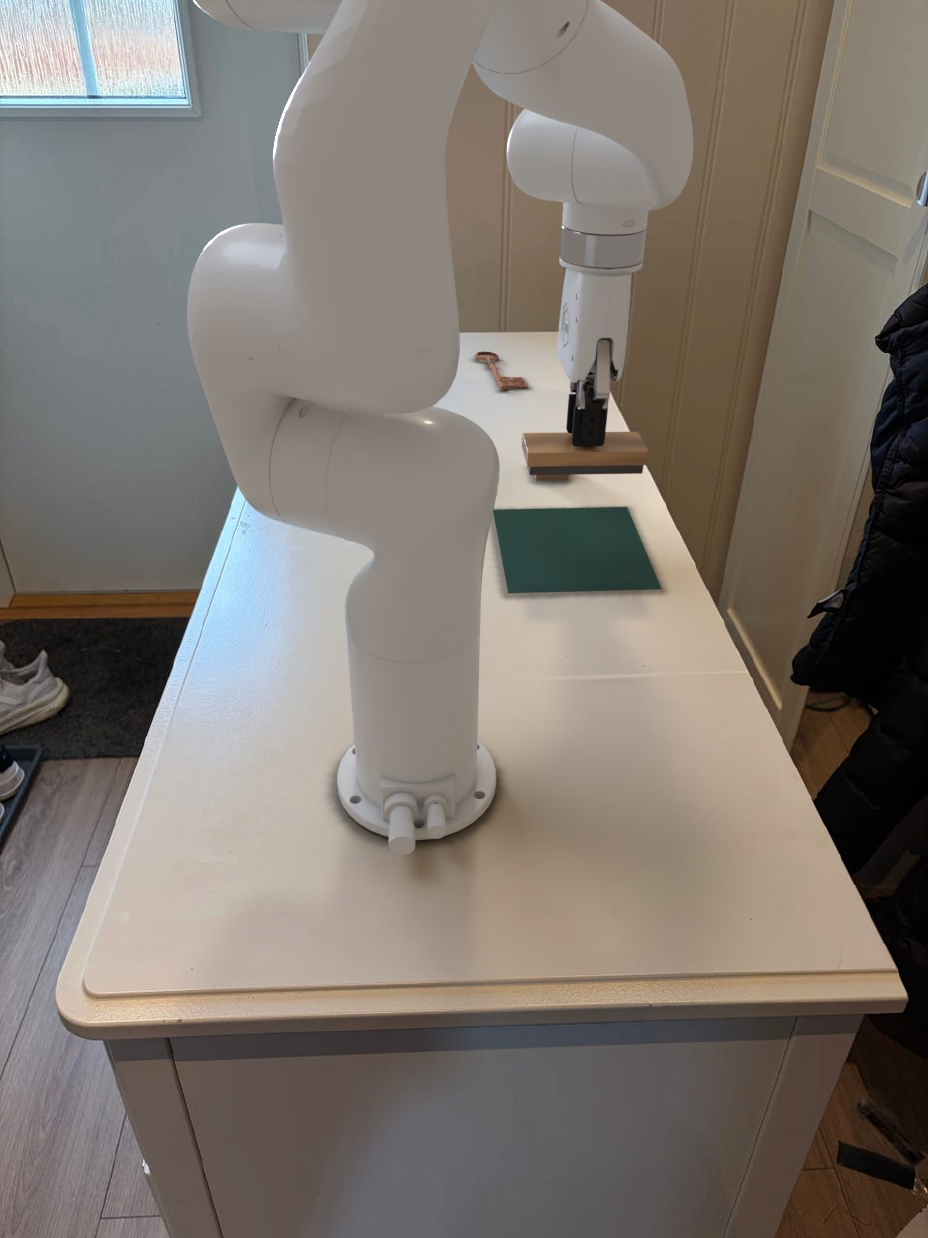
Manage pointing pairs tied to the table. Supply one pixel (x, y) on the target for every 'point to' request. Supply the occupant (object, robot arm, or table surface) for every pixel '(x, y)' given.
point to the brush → (584, 453)
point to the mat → (572, 550)
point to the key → (499, 379)
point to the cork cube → (551, 477)
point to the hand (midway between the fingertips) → (584, 437)
